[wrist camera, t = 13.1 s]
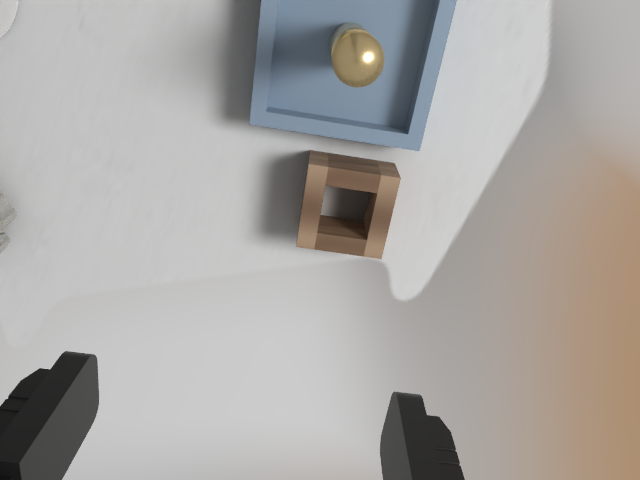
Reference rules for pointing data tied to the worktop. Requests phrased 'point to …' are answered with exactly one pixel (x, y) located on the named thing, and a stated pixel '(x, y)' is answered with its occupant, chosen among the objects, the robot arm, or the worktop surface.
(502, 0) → the worktop surface
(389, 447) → the robot arm
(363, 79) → the pin
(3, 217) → the egg carton
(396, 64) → the tray
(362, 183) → the bracket
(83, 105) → the worktop surface
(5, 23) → the teacup
